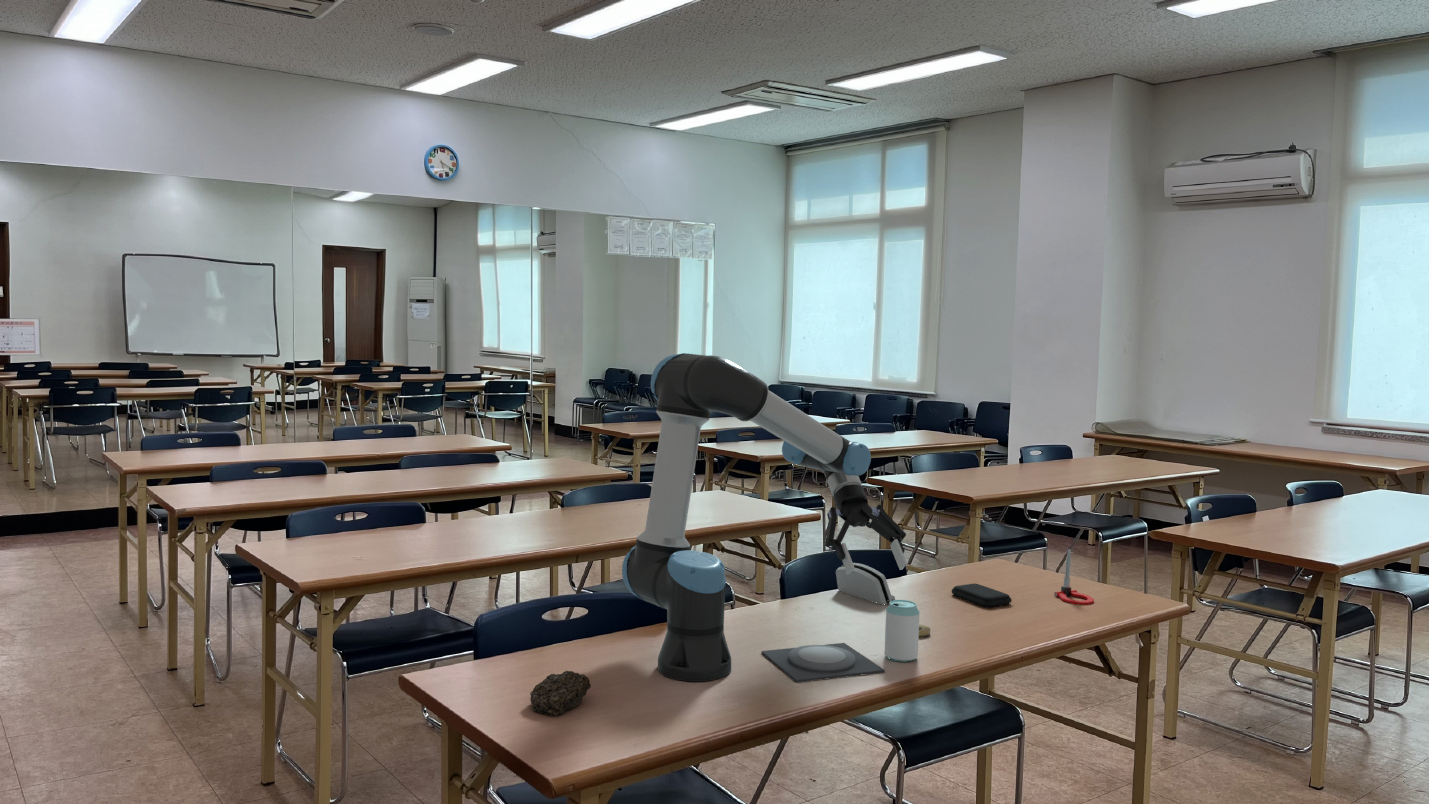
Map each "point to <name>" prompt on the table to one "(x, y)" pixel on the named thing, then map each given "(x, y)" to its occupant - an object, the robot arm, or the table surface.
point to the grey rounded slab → (864, 583)
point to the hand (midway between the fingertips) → (877, 568)
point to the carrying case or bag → (981, 595)
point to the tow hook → (1067, 589)
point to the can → (902, 630)
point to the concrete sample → (559, 692)
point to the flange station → (821, 662)
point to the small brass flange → (923, 631)
